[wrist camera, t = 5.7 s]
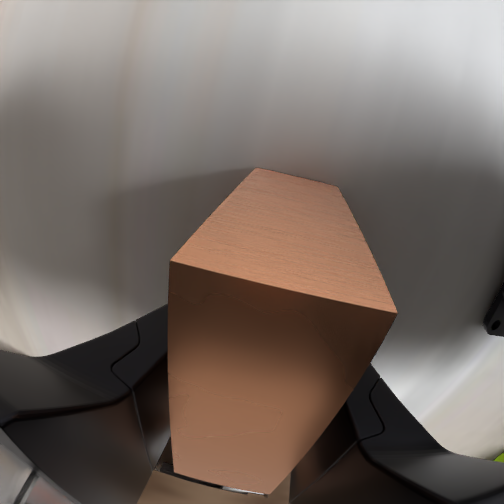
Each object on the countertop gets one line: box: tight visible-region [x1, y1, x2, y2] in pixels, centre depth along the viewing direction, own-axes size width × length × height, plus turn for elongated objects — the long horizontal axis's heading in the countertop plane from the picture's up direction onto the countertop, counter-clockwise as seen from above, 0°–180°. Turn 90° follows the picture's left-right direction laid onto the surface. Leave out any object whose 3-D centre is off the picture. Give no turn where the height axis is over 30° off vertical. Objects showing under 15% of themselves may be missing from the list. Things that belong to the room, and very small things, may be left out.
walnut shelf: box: [137, 470, 291, 504], centre depth 15 cm, size 19×12×6 cm, turn 81°
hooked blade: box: [160, 168, 398, 494], centre depth 11 cm, size 6×24×6 cm, turn 169°
